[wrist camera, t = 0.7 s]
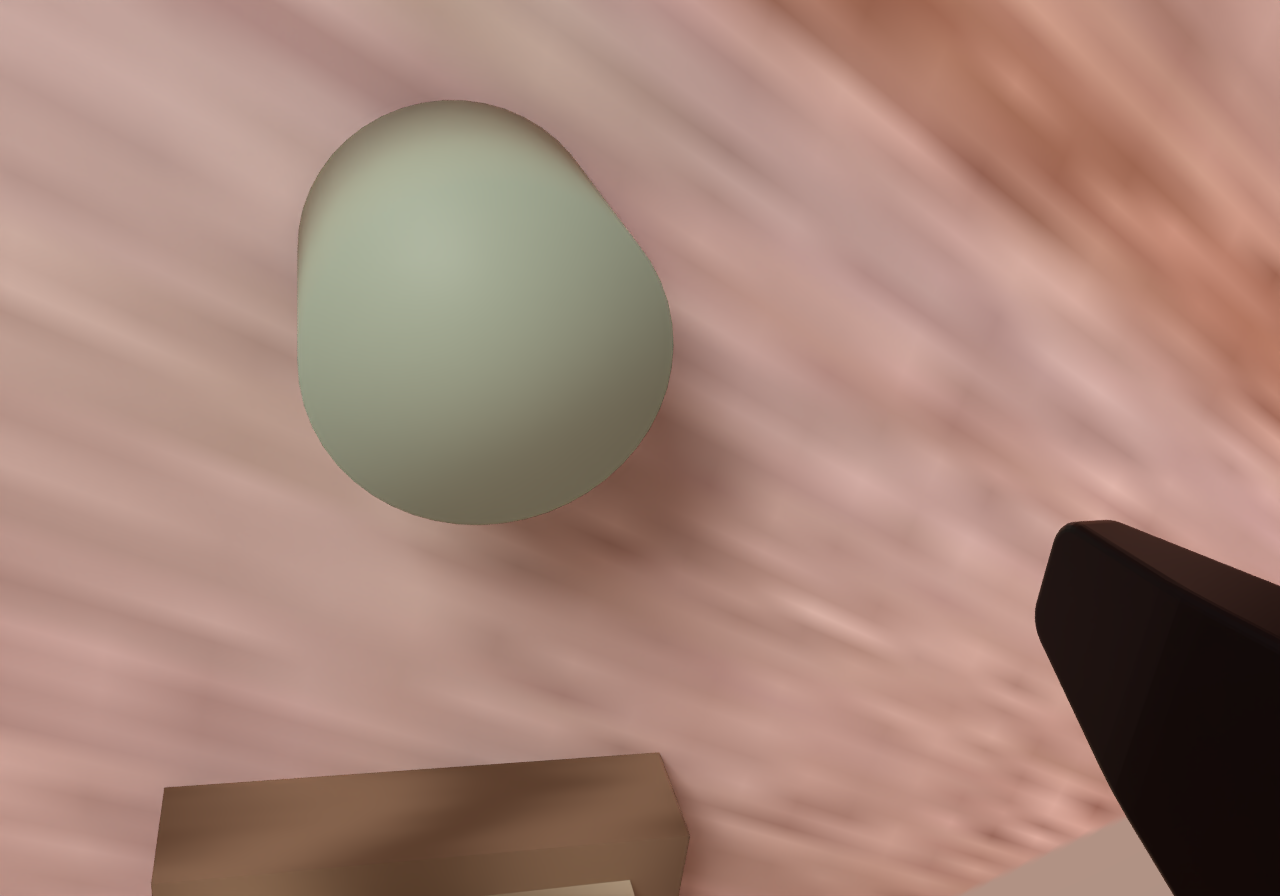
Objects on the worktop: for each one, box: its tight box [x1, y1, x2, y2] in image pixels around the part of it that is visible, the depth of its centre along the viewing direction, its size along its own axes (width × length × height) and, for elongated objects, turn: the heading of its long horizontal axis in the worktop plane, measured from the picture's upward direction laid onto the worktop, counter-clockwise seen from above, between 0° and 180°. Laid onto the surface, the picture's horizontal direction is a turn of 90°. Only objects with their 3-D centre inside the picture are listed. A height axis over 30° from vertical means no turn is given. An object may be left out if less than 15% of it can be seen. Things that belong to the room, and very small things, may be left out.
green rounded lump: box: [297, 100, 673, 525], centre depth 18 cm, size 5×5×4 cm
